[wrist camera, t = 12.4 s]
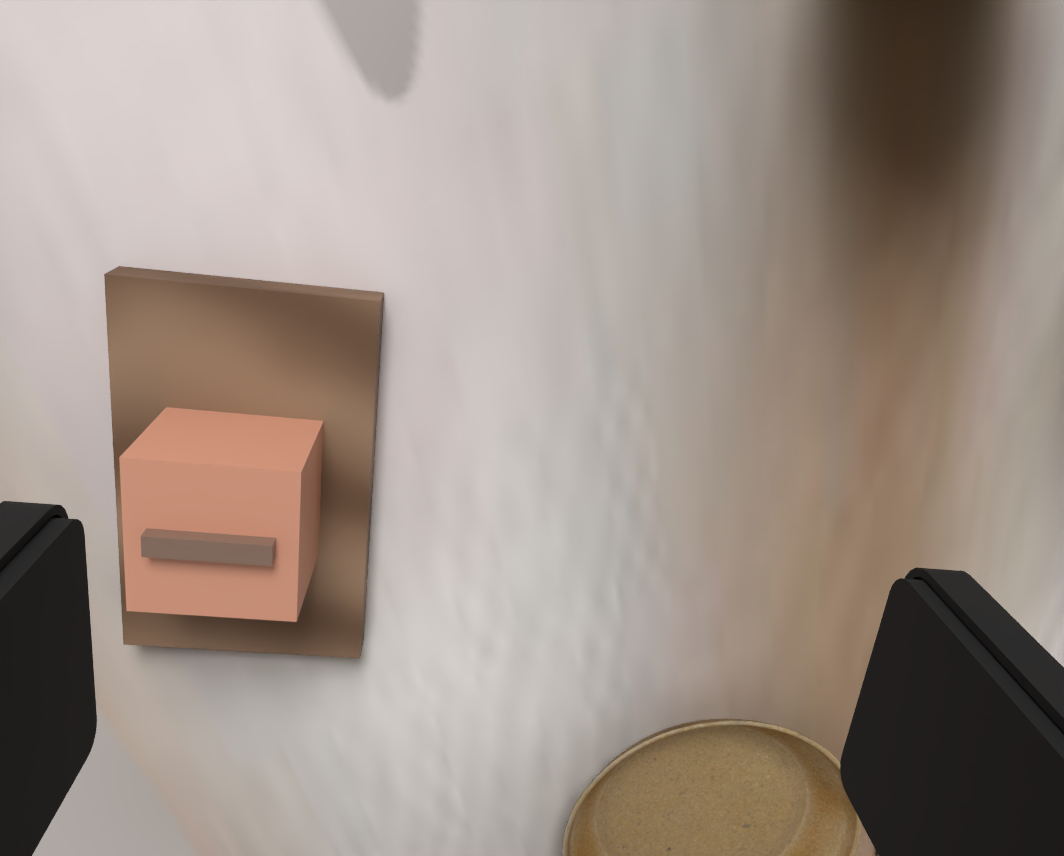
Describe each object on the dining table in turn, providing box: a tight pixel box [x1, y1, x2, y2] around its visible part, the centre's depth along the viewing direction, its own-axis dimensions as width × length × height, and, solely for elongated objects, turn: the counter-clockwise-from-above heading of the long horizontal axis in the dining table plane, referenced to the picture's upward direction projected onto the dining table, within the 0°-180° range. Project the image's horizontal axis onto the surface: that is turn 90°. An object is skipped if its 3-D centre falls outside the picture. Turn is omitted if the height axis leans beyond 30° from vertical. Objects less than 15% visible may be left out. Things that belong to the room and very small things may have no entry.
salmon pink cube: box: [119, 407, 324, 622], centre depth 34 cm, size 6×6×6 cm
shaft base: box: [104, 266, 384, 658], centre depth 35 cm, size 16×10×5 cm, turn 173°
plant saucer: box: [562, 719, 862, 856], centre depth 45 cm, size 15×15×3 cm
